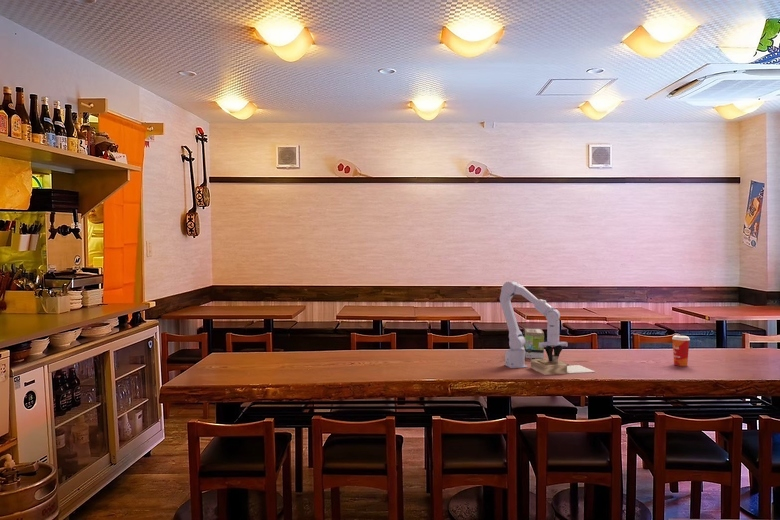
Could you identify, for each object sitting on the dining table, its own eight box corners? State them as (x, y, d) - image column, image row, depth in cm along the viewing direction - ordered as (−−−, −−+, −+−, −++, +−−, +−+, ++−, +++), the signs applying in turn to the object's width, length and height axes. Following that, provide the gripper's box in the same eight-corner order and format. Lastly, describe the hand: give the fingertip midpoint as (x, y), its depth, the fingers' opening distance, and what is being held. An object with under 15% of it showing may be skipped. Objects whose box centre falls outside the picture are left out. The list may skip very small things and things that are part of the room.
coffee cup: (670, 362, 266) (670, 334, 266) (687, 363, 264) (688, 335, 263) (673, 366, 259) (673, 337, 258) (691, 367, 256) (691, 338, 256)
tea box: (544, 359, 276) (544, 332, 275) (525, 358, 278) (525, 332, 277) (541, 353, 290) (541, 328, 290) (523, 353, 292) (523, 327, 292)
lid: (548, 366, 243) (548, 358, 243) (537, 361, 254) (538, 353, 254) (568, 365, 245) (568, 357, 245) (557, 360, 256) (557, 352, 256)
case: (544, 374, 241) (544, 365, 241) (530, 368, 255) (530, 359, 255) (567, 373, 243) (567, 364, 243) (552, 367, 257) (552, 358, 257)
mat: (568, 373, 243) (568, 372, 243) (554, 367, 257) (554, 366, 257) (595, 372, 246) (595, 371, 246) (579, 365, 259) (579, 365, 259)
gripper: (543, 335, 244) (543, 363, 244) (570, 334, 246) (570, 362, 247) (536, 333, 251) (536, 360, 251) (563, 332, 253) (563, 359, 253)
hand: (553, 361), depth 249 cm, fingers closed on lid, 2 cm apart
